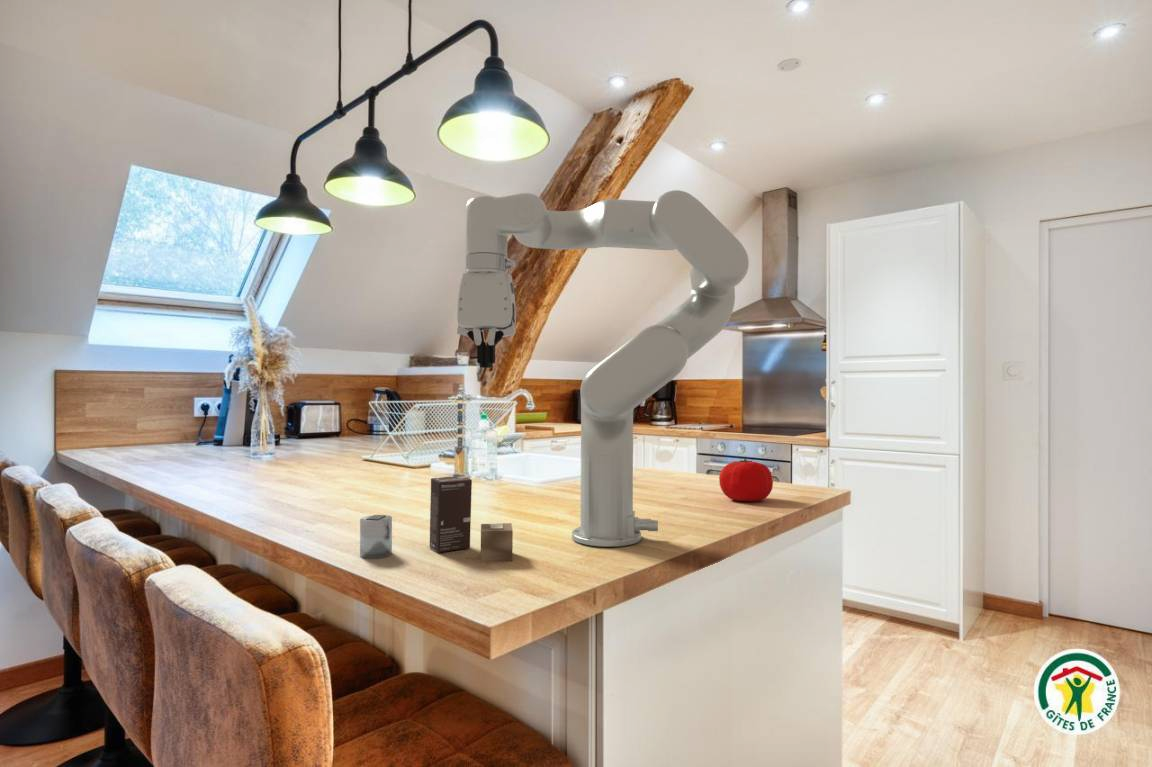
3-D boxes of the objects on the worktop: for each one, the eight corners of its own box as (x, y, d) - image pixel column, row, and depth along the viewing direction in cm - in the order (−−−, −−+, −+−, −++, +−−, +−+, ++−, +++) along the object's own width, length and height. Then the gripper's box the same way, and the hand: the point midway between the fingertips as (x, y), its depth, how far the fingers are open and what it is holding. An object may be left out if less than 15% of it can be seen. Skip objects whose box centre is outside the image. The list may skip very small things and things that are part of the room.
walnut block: (511, 553, 103) (511, 521, 103) (512, 561, 98) (512, 529, 98) (481, 554, 102) (481, 522, 102) (480, 562, 97) (480, 529, 97)
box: (438, 554, 101) (438, 481, 101) (429, 548, 105) (429, 477, 105) (472, 549, 105) (472, 478, 105) (462, 543, 109) (462, 475, 108)
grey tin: (396, 551, 103) (396, 514, 103) (384, 559, 98) (384, 520, 98) (368, 550, 104) (368, 513, 104) (354, 558, 99) (354, 519, 99)
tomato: (778, 505, 143) (779, 461, 143) (724, 504, 144) (724, 460, 144) (764, 496, 155) (764, 455, 155) (713, 495, 155) (714, 455, 155)
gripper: (530, 270, 115) (530, 368, 115) (453, 271, 117) (452, 368, 117) (522, 262, 108) (522, 367, 108) (440, 264, 109) (439, 367, 109)
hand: (486, 367), depth 112 cm, fingers closed
